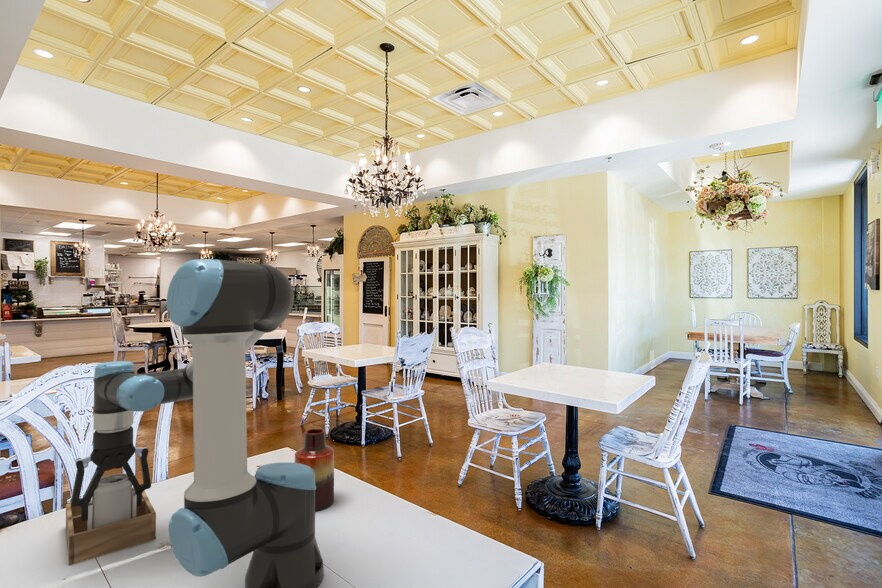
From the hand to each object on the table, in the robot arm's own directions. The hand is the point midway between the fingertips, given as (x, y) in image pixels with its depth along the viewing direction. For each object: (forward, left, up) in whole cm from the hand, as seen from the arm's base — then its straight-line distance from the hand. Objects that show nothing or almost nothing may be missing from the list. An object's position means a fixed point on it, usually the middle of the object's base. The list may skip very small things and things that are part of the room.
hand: (112, 526), depth 102 cm
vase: (-11, -45, -5) cm, 47 cm away
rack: (+5, 0, -4) cm, 7 cm away
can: (0, 0, -1) cm, 1 cm away
